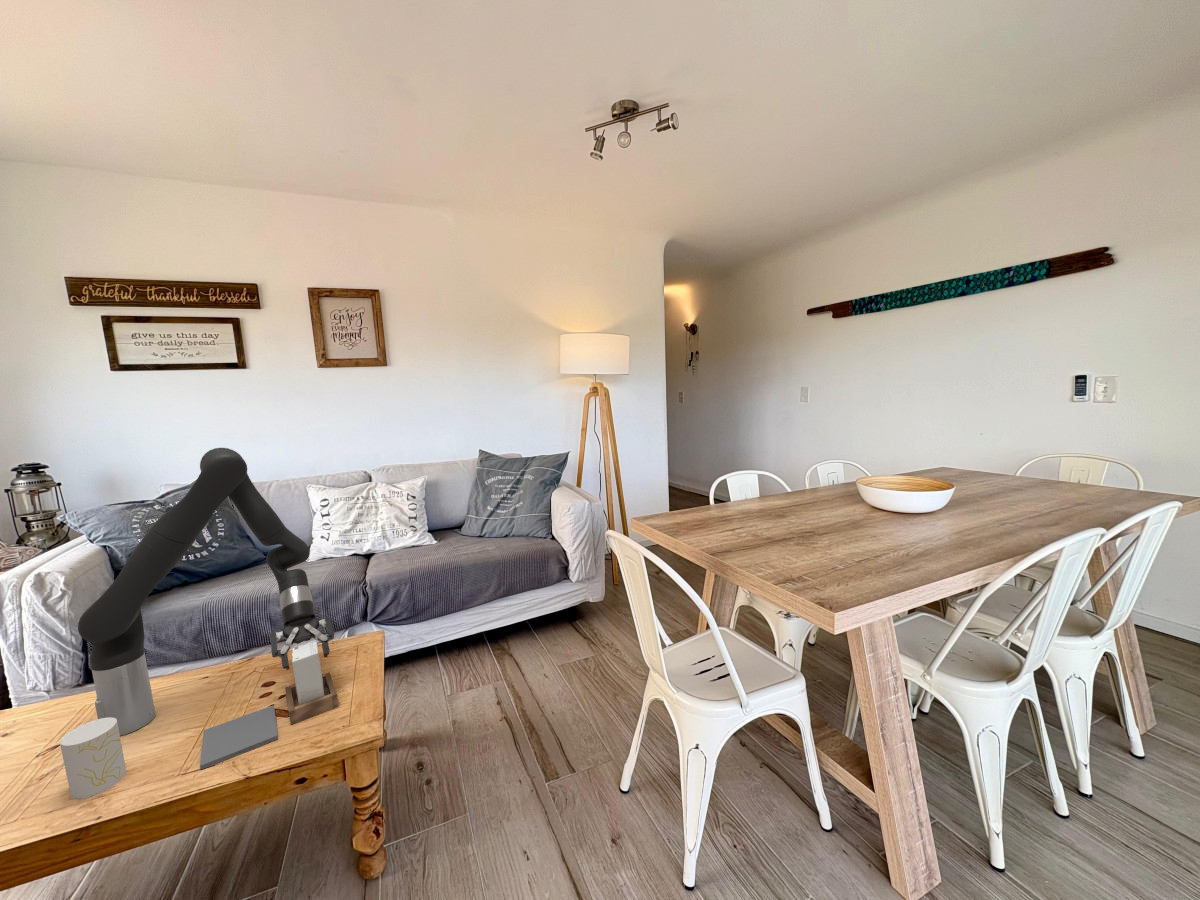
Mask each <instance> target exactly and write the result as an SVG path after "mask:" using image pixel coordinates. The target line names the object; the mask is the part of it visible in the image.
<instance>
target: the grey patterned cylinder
mask: <svg viewBox="0 0 1200 900" xmlns="http://www.w3.org/2000/svg"><path fill="white" fill-rule="evenodd" d="M59 745H60V749H61V753H62V754H61V755H62V760H63V764H64V768H65V775H66V778H67V783H68V789H69V793H70V798H72V799H74V800H82V799H86V798H89V797H93V796H95V795H98V794H100V793H103V792H104V791H107V790H108V789H110V788H112V787H114V786H115V785H117V783H119V782H120V781H121V780H122V779H123V778H124V777H125V775H126V773H127V767H126V761H125V757H124V751H123V746H122V745H123V744H122V740H121V736H120V734H119V729H118V724H117V719H116V718H113V717H108V718H101V719H98V718H97V719H94V720H92V721H88V722H86V723H83V724H81V725H79V726H77V727H75V728H73V729H72V730H70V731H69V732H67V733H66V734H65V735H63V737H62V738H60V740H59Z"/></svg>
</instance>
